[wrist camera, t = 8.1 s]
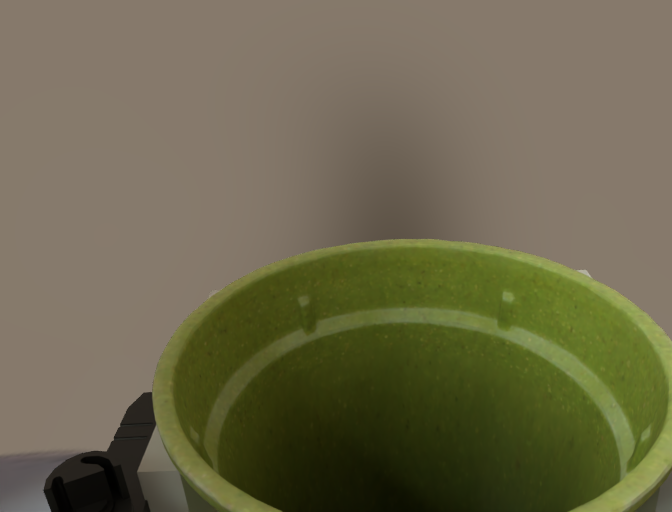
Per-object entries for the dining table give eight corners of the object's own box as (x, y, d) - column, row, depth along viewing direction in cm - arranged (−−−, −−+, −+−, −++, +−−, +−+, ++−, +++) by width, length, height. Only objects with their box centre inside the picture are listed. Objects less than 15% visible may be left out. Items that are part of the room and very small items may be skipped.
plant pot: (439, 446, 21) (437, 206, 18) (717, 686, 14) (815, 365, 10) (172, 592, 17) (95, 320, 13) (370, 1043, 10) (322, 722, 6)
